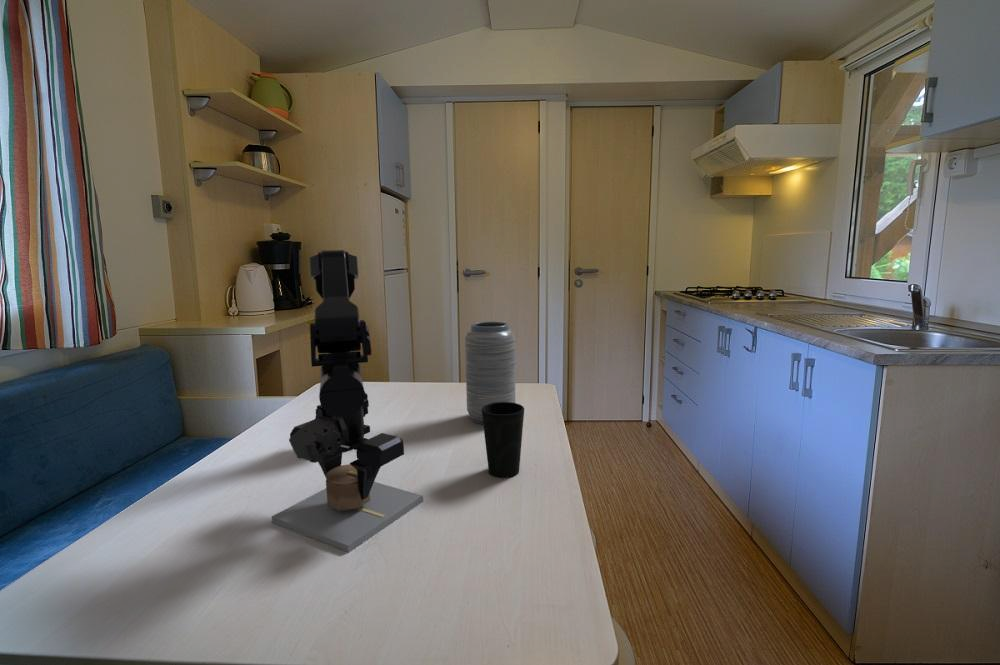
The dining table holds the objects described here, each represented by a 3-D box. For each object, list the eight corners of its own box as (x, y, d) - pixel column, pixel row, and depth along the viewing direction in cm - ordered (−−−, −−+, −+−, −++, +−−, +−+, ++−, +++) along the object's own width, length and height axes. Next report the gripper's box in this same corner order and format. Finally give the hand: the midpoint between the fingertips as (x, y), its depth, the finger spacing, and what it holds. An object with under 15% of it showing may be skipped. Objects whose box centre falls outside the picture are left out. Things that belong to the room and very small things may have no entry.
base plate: (272, 522, 77) (269, 497, 76) (351, 480, 90) (350, 459, 90) (348, 552, 69) (346, 524, 68) (423, 501, 82) (422, 478, 82)
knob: (319, 503, 78) (317, 474, 77) (349, 487, 83) (347, 459, 83) (348, 513, 75) (346, 483, 74) (378, 495, 80) (376, 467, 79)
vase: (524, 416, 124) (523, 322, 120) (498, 430, 114) (497, 329, 110) (484, 408, 130) (483, 319, 126) (457, 421, 120) (454, 325, 117)
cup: (494, 484, 88) (493, 417, 86) (476, 468, 95) (474, 405, 93) (532, 474, 91) (532, 410, 90) (512, 459, 98) (511, 399, 96)
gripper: (254, 402, 74) (264, 502, 77) (346, 422, 65) (354, 534, 68) (316, 384, 84) (323, 473, 86) (404, 399, 75) (408, 498, 77)
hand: (349, 493), depth 79 cm, fingers closed on knob, 6 cm apart
